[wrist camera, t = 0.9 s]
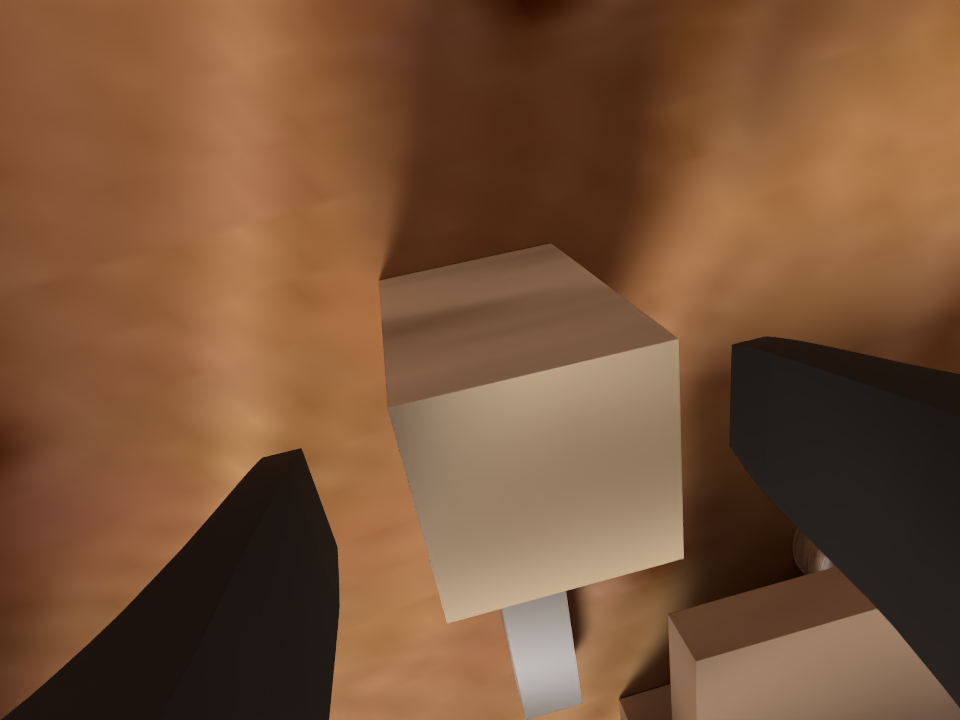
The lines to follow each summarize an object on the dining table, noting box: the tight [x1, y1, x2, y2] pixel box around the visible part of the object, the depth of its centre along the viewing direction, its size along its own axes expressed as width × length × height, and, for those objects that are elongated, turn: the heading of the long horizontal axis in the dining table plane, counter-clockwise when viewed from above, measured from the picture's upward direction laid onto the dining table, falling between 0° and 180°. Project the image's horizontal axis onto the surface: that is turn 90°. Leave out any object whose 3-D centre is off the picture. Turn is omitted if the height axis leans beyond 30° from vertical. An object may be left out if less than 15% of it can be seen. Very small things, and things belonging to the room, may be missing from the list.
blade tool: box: [379, 243, 684, 720], centre depth 13 cm, size 14×4×6 cm, turn 10°
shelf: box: [619, 567, 960, 720], centre depth 17 cm, size 11×13×5 cm
